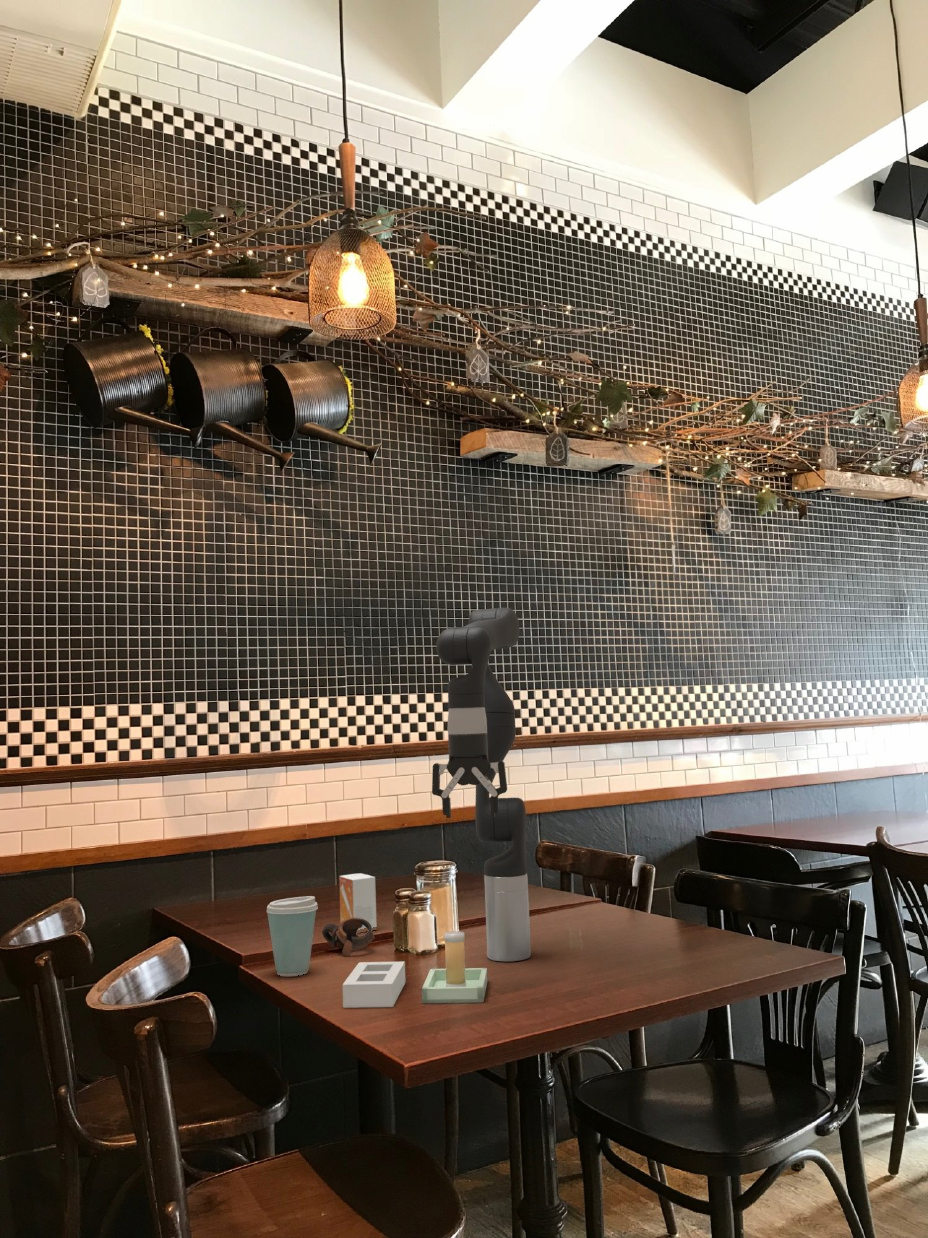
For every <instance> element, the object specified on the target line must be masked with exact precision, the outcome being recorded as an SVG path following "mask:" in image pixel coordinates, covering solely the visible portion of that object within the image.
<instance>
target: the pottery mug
mask: <svg viewBox="0 0 928 1238" xmlns="http://www.w3.org/2000/svg"><path fill="white" fill-rule="evenodd" d="M363 925H364V926H365V927H366V928H367V929H368V932H367V933H364V935H361V936H359V934H357V931H358V928H361V927H362V926H363ZM321 934H322V936H323V938H324V939H325V941H326V942H328V943H329V944H330V946H331V947H332V949H335V948H338V949H339V950H340V949H342V951H341V952H342V955H344V956H346V957H349V956H350V955H351V954H352V953H354V952H357V951H359V950H362V949H365V948H367V947H368V946H369V945H371V944H372V941H373V940H375V939H376V938H375V935H374V933H373V932H372V927H371V924H370V923H369V922H368V921H366V920H364V919H361V918H356V917H353V918H347V919H345V920H343V921H342V922H341V923H339V925H337V924H334V923H326V924H325V925H324V926H323V928H322V930H321ZM337 946H338V947H337Z"/></svg>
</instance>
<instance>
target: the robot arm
mask: <svg viewBox="0 0 928 1238" xmlns="http://www.w3.org/2000/svg"><path fill="white" fill-rule="evenodd" d="M467 623H468V624H466V625H465V626H460V627H459V626H458V627H452V628H446V629H445V630H444V629H443V631H441V633H440V634H439V636H438V637H437V639H436V646H435V647H436V649H435V650H436V654H437V655H438V658H439V660H440V661H441V662H443V664H446V665H449V666H461V665H463V666H464V665H471V668H470V670H469V672H468V673H467V674H465V675H461V676H457V677H454V678H451V679H450V680H449V681H448V684H447V705H448V713H447V727H446V728H447V729H446V730H447V731H446V732H447V735H448V736H447V739H448V741H447V742H448V743H447V744H448V761H447V763H439V762H436V763H433V765H432V776H431V777H432V783H431V785H432V786H431V793H432V795H433V796H437V797H440V798H441V802H442V804H441V805H442V806H441V807H442V815H443V816H445V817H446V818H445V819H451V817H452V808H451V807H452V806H451V805H452V804H451V797H450V794H451V793H452V791H453V790H454V788H456V786H457V785H460V786H468V785H471V786H475V806H474V807H475V810H474V813H475V815H474V818H475V832H476V833H475V834H476V837H477V839H478V840H479V841H480V842H481V843H499V842H501V843H502V842H504V843H506V842H511V845H510V847H509V848H507V849H506V850H505V851H503V852H502V853H500V854H498V855H496V856H494V857H493V856H492V857H491V858H490V857H489V858H488V859H487V860H485V862H484V864H483V874H484V875H483V880H484V902H485V903H484V904H485V924H486V925H485V927H486V957H487V959H489V960H492V961H497V962H516V961H523V960H527V959H529V958H531V956H532V955H531V953H532V952H531V950H532V949H531V927H530V925H531V924H530V904H529V887H528V886H529V884H528V883H529V882H528V881H529V880H528V879H529V878H528V864H527V862H528V861H527V809H526V805H525V802H524V800H523V799H522V798H521V797H499V796H500V795H502V794H505V793H506V792H507V791H508V784H507V774H506V773H507V772H506V763H505V761H504V760H505V759H506V757H507V755H508V753H509V751H510V750H511V748H512V746H513V744H514V742H515V739H516V734H517V732H516V731H517V729H516V712H515V711H516V709H515V705H514V703H513V701H512V699H511V697H510V696H509V695H508V693H507V691H506V690H505V688H503V686H502V685H501V684H500V682H499V681H498V679H497V678H496V676H495V674H494V672H493V671H492V669H491V667H490V664H489V661H490V658H491V657H490V656H491V653H492V652H491V651H493V650H502V649H509V648H512V647H514V646H516V644H517V643H518V641H519V639H520V623H519V619H518V615H517V613H516V612H515V610H513V609H512V608H510V607H495V608H493V607H492V608H485V609H476V610H475V609H474V610H473V611H471V612H470V613H469V617H468V622H467ZM445 770H447V772H448V774H450V775H451V777H452V778H451V780H450V781H449V782H448V784H447V785H446V786H445V788H444V789H441V776H442V775H443V774H444V773H445ZM497 774H498V782H499V787H497V788H496V787H495V786H494V785H493V782H494V779H495V777H496V775H497Z"/></svg>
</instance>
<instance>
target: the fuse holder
mask: <svg viewBox="0 0 928 1238" xmlns="http://www.w3.org/2000/svg"><path fill="white" fill-rule="evenodd" d="M405 985H406V962H405V961H371V962H370V961H369V962H368V961H366V962H364V961H363V962H362V961H360V962H358V963H357V964H356V966H355V967H354V969H353V970H352V971H351V972H350V974H349V975H348V976H347V978H346V979H345V981H344V982H343V983H342V1007H343V1009H344V1008H345V1009H346V1008H347V1009H348V1008H349V1009H350V1008H352V1009H354V1008H356V1009H357V1008H393V1007H394V1006H395V1004H396V1003H397V1000H398V998H399V995H401V992H402V990H403V988H404V986H405Z"/></svg>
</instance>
